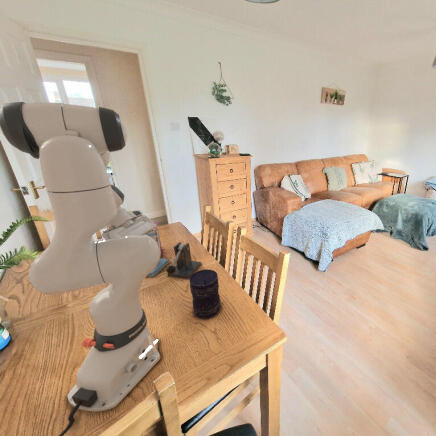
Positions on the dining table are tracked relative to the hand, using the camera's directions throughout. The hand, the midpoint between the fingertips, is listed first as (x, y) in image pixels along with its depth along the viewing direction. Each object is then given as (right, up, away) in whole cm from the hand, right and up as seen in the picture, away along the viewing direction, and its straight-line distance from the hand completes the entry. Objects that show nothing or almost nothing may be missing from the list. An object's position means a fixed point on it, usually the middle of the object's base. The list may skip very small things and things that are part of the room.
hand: (148, 245), depth 99 cm
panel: (-7, -13, +15) cm, 21 cm away
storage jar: (+27, -24, -7) cm, 37 cm away
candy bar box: (-12, -8, +27) cm, 30 cm away
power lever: (+9, -8, +8) cm, 14 cm away
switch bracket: (+9, -13, +15) cm, 22 cm away
